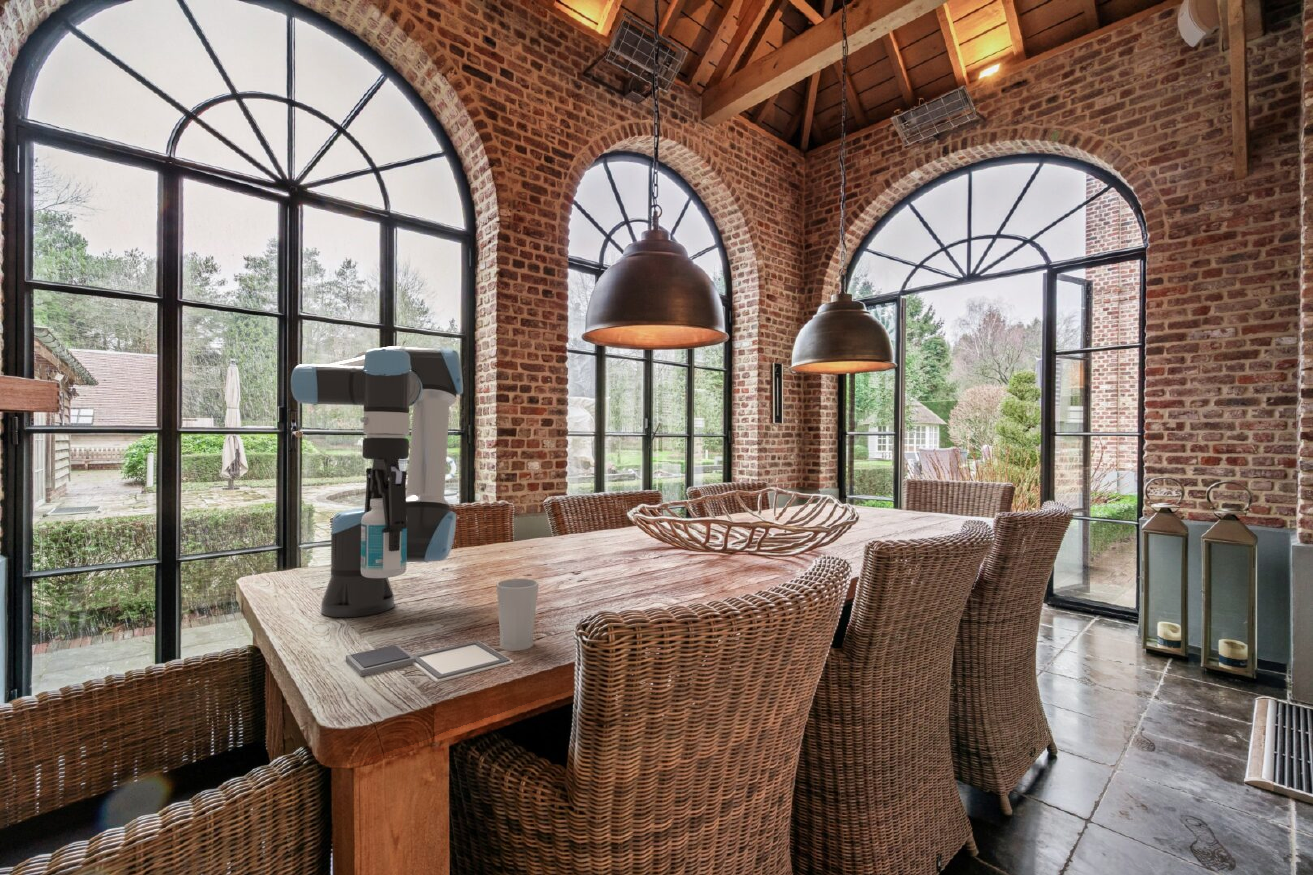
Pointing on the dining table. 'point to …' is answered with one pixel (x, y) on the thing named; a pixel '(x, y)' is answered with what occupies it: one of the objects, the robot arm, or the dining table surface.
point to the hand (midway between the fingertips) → (383, 565)
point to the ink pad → (379, 660)
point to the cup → (517, 613)
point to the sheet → (459, 661)
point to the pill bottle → (378, 543)
